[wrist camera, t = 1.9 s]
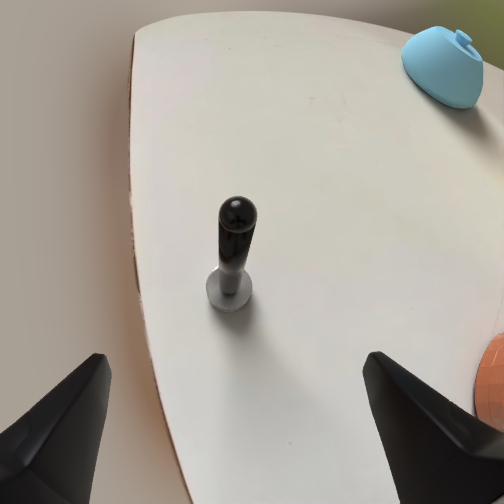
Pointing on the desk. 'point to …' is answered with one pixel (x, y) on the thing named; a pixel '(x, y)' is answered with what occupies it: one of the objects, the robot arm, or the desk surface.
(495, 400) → the bowl
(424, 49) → the sugar bowl
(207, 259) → the desk surface
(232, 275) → the black rod on stand
